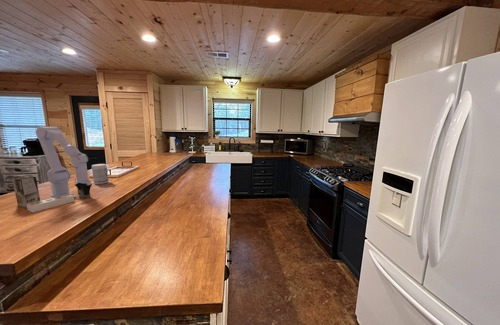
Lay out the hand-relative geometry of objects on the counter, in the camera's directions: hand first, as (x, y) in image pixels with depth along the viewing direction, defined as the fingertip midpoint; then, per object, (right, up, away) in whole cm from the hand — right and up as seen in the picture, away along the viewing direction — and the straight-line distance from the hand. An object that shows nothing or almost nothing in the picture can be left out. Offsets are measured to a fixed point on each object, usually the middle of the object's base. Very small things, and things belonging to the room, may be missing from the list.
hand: (84, 194), depth 129 cm
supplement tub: (-13, +4, +32) cm, 34 cm away
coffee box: (-21, -4, -13) cm, 25 cm away
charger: (-1, -2, -1) cm, 2 cm away
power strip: (-7, -4, -14) cm, 16 cm away
